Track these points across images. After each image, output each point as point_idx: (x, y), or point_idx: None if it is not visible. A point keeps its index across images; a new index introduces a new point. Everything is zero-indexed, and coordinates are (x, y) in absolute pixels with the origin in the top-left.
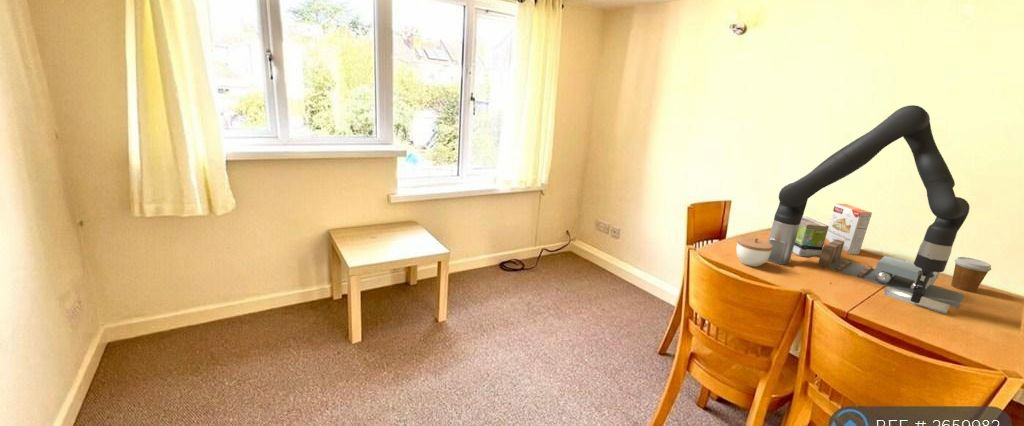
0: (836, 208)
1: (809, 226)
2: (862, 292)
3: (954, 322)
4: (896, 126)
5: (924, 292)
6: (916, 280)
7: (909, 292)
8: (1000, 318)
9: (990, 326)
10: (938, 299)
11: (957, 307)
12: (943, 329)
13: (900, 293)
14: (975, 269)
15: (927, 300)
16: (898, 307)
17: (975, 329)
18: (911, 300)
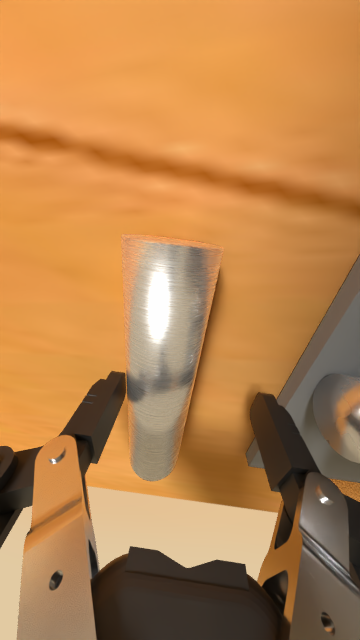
0: None
1: None
2: (87, 56)
3: (117, 437)
4: None
5: (257, 441)
6: (19, 615)
7: (328, 362)
8: (270, 500)
9: (180, 481)
10: (304, 439)
11: (252, 465)
12: (17, 413)
13: (127, 338)
14: None
15: (136, 434)
16: (58, 313)
17: (118, 460)
18: (111, 374)
